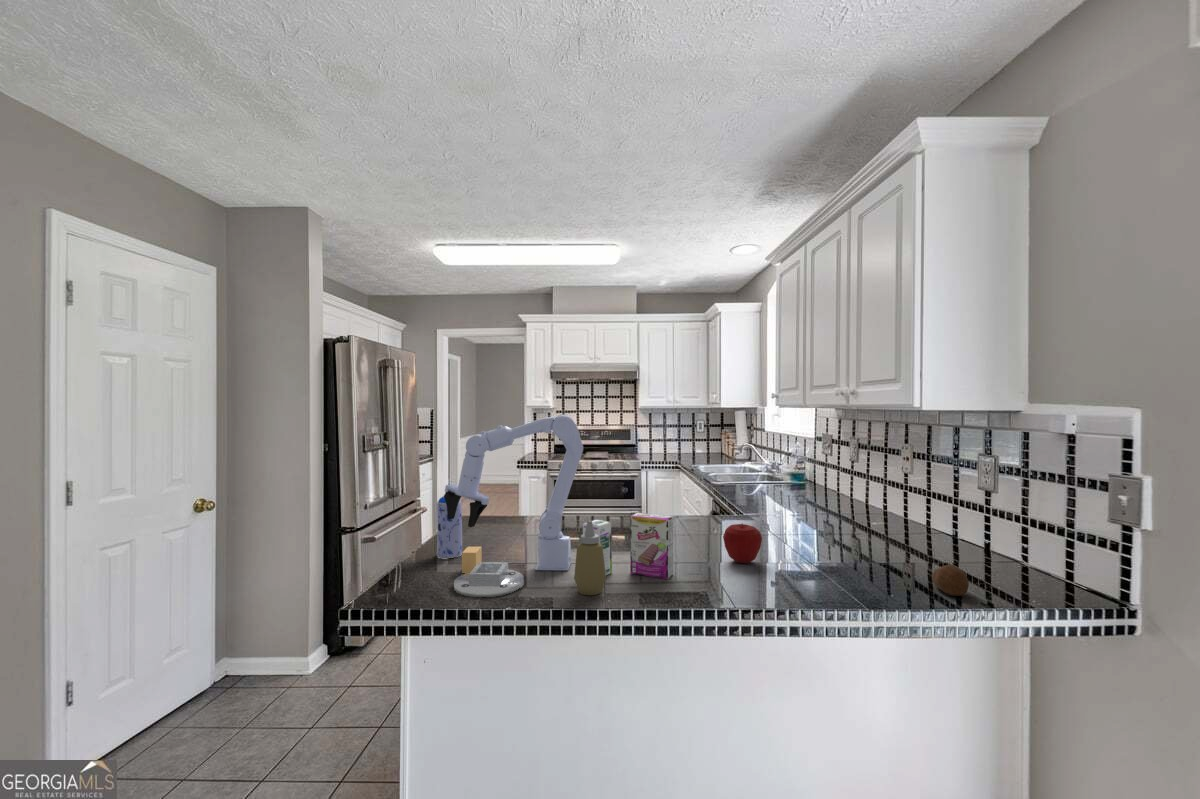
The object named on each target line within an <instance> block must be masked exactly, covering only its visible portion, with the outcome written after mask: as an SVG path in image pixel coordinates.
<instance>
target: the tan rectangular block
mask: <svg viewBox="0 0 1200 799" xmlns="http://www.w3.org/2000/svg"><path fill="white" fill-rule="evenodd" d="M482 547H483V546H467V547H466V548H465V549H464V550H462V556H461V574H462V573H468V572H471V571H472V570H473V569H474V567H475V566H476V565H477V564H478V563H479V562H483V561H482V560H483V558H482V557H483V556H482V555H483V552H482V551H483V550H482Z"/></svg>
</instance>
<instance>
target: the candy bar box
mask: <svg viewBox="0 0 1200 799" xmlns="http://www.w3.org/2000/svg"><path fill="white" fill-rule="evenodd" d="M629 519H630V527H629V528H630V536H629V537H630V540H629V541H630V564H629V565H630V567H629V568H630V570H629V571H630V574H631V575H636V574H637V575H638V576H643V575H644V577H649V576H650V577H651V578H658V579H665V580H668V579H670V577H672V576H673V575H674V516H671V515H661V514H655V513H654V514H653V513H645V512H635V513H633V514H631V515H630V518H629ZM637 575H636V576H637Z"/></svg>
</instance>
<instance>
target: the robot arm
mask: <svg viewBox="0 0 1200 799" xmlns="http://www.w3.org/2000/svg"><path fill="white" fill-rule="evenodd" d="M541 432H542V433H544V434H545V433H546V434H552V432H553V434H554V435H555V437H557V438H558V439H559V440H560V441H561V442H562V445H563V446H564V448H565V454H564V457H563V460H562V462H561V465H560V469H559V472H558V474H557V478H556V481H555V483H554V487H553V489H552V493H551V496H550V498H549V502H548V504H547V506H546V508H545V510H544V511H543V512H542V513H541V515H540V516H539V524H538V529H539V530H538V531H539V533H537V558H538V559H537V564H536V566H535V568H534V570H535V571H569V568H570V566H571V563H572V556H571V554H572V552H571V550H572V549H571V546H572V545H571V544H572V543H571V536H568V535H564V534H563V532H562V517H563V515H564V511H565V510H564V509H565V506H566V504H567V503H566V502H567V500H568V498H569V494H570V490H571V487H572V485H573V482H574V478H575V476H576V473H577V470H578V466H579V463H580V461H581V458H582V456H583V453H584V444H583V441H582V438H581V435H580V431H579V428H578V426H577V423H576V422H574V420H573V418H572V417H571V416H569V415H568V414H559V415H557V416H555V415H552V416H547V417H542V418H539V419H536V420H533V421H530V422H527V423H524V424H522V425H519V426H516V427H512V428H511V427H508V426H507V425H504V426H503V425H501V424H500V425H498V426H496V428H494V429H490V430H487V431H485V430H482V431H480V434H475V435H472V436H470V437H469V438H468V439H467V441H466V442H465V450H466V451H465V454H464V459H463V462H462V466H461V471H460V475H459V482H458V486H455V485H452V484H446V485H445V487H444V492H445V493H446V492H448V493H447V494H445V493H444V495H443V496H444V498H445V501H446V505H447V518H448V519H454V517H455V513H456V509H457V506H458V503H459V500H461V498H465V499H468V500H471V501H472V502H469V518H468V523H467V524H468V525H467V527H468V528H473V527H475V525H476V523H477V522H478V519H479V517H480V516H481V515H482V513H483V512H484V510H485V509H486V508H487V507H488V505H489V502H490V496H486V495H485V494H482V493H480V492H478V491H479V488H480V483H481V478H482V473H483V468H484V464H485V463H484V461H485V460H484V458H485V455H486V452H487V451H489V452H493V451H496V450H499V449H503V448H505V447H509V446H512V445H513V443H514V441H515V439H520V438H523V437H526V436H530V435H534V434H537V433H541Z"/></svg>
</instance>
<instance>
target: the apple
mask: <svg viewBox="0 0 1200 799" xmlns="http://www.w3.org/2000/svg"><path fill="white" fill-rule="evenodd" d="M722 538H723V544H724V547H725V548H724V549H725V551H726V552H727V554H728V557H729V558H730V559H732V560H733V561H734V562H736V563H740V564H750V563H751V562H753V561H754V560H756V558H757V556H758V553H759V552H760V549H761V546H762V545H761V544H762V542H763V537H762V533H761V531H760V530H759V529H758V528H757V527H756V526H753V525H750V524H746V523H745V524H744V523H737V524H731V525H729V526H728V527H726V528H725V530H724V533H723V535H722Z"/></svg>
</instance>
